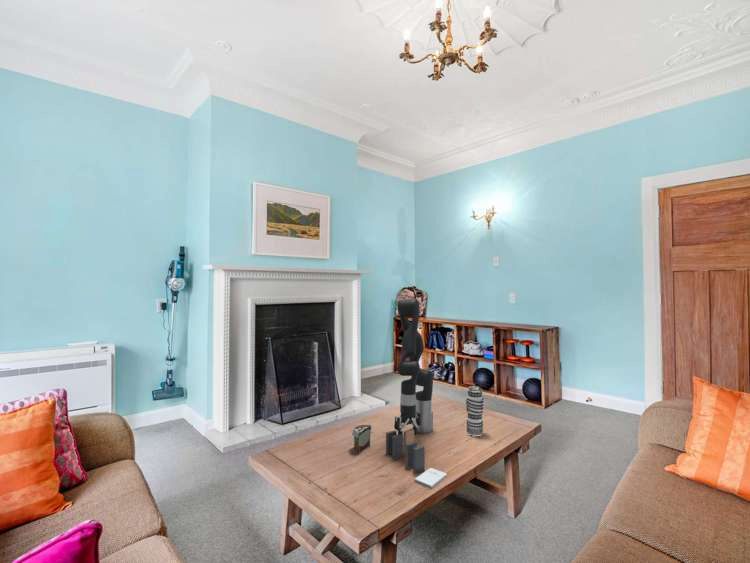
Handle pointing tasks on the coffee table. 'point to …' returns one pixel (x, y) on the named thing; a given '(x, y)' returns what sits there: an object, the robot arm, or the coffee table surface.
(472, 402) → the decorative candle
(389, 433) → the domino
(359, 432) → the food container
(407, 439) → the domino
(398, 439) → the domino
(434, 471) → the external hard drive
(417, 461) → the domino
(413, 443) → the domino
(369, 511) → the coffee table surface
